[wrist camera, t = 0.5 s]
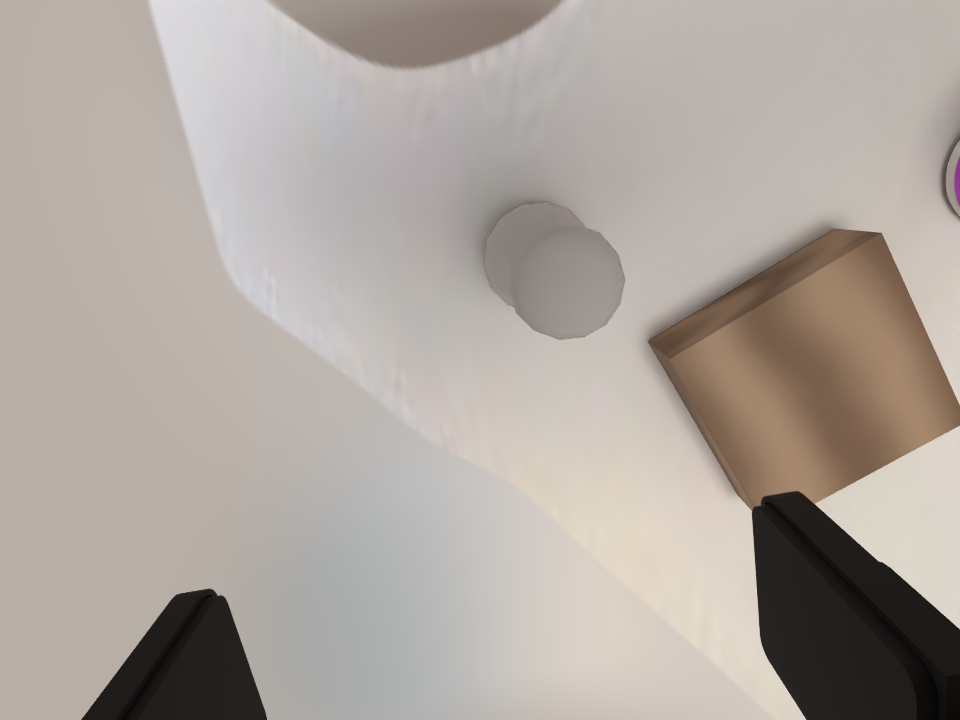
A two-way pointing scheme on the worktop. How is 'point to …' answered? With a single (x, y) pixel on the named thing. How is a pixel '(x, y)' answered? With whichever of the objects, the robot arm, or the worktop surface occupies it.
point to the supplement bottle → (954, 179)
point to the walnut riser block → (811, 371)
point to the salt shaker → (554, 270)
